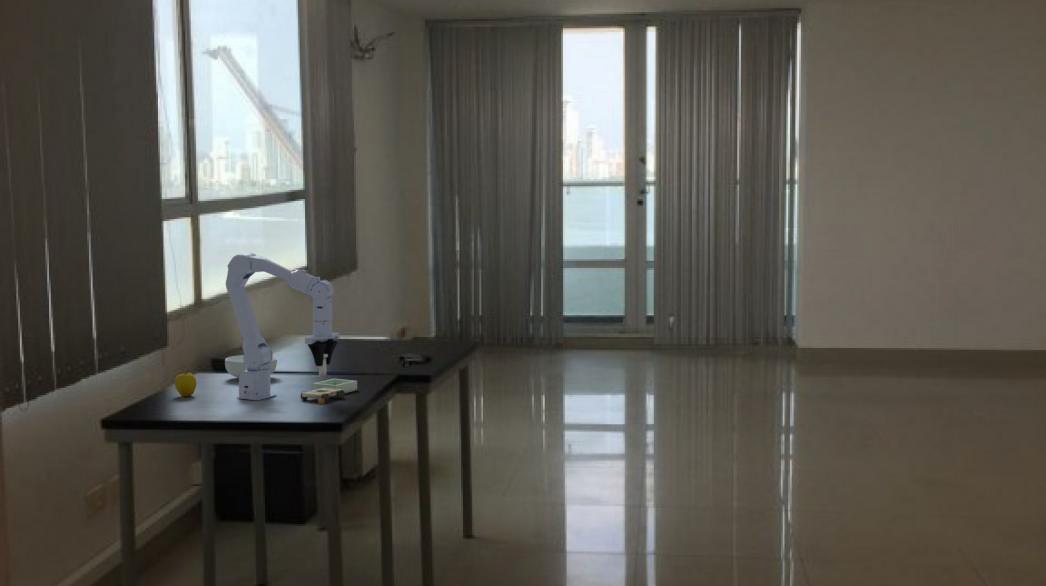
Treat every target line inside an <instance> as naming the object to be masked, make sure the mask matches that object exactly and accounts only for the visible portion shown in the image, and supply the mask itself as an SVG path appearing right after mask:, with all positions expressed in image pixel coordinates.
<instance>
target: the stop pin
mask: <svg viewBox="0 0 1046 586" xmlns="http://www.w3.org/2000/svg"><path fill="white" fill-rule="evenodd" d="M326 357H328V353H324V356H323V365H322V366H318V375H319V376H318V377H319V378H326V377H327V365H326Z"/></svg>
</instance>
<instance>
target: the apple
mask: <svg viewBox="0 0 1046 586" xmlns="http://www.w3.org/2000/svg"><path fill="white" fill-rule="evenodd" d="M196 387H197V379H196V377H195V375H194V373H191V372H189V370H187V371H186V372H184V373H180V374H178V375H176V376H175V379H174V388H175V389H176V391H177V392H178V393H179V395H180V396H181V397H183V398H187V397H190V396H193V395H194V393H195V391H196Z"/></svg>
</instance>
